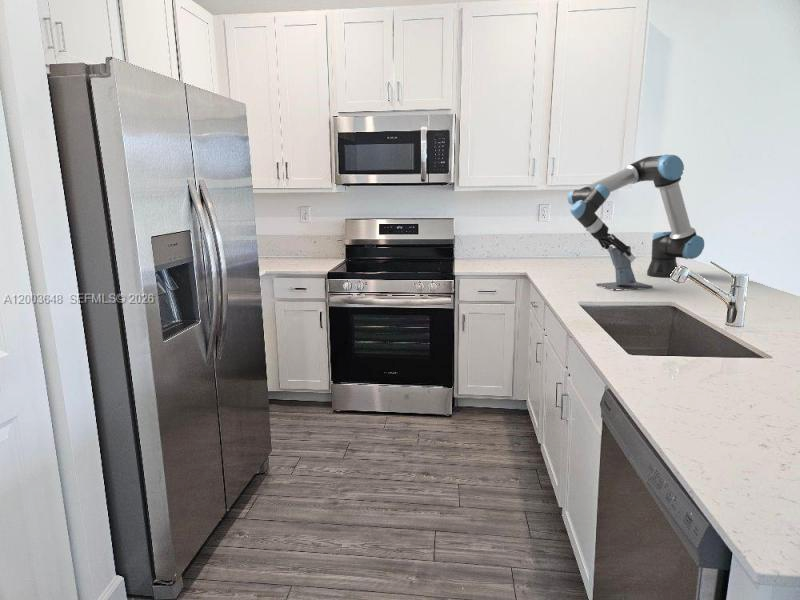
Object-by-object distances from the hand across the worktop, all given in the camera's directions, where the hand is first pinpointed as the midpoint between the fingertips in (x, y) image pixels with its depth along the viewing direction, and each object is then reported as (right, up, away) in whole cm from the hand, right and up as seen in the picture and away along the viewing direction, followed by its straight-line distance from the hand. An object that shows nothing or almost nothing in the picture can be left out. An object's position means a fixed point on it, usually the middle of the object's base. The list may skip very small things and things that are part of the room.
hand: (625, 258), depth 249 cm
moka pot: (0, -13, -1) cm, 13 cm away
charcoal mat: (+1, -13, +3) cm, 14 cm away
